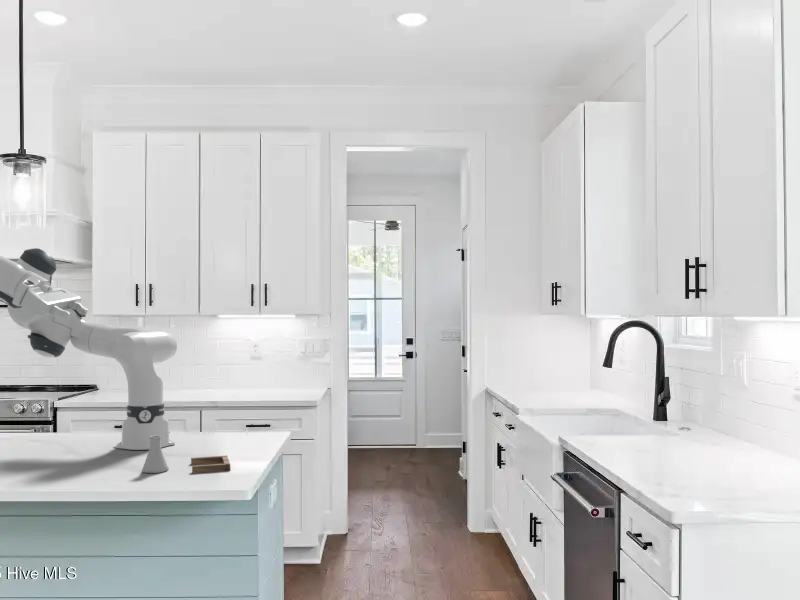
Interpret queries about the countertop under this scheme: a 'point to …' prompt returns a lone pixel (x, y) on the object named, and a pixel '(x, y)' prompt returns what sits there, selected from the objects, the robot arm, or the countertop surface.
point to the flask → (155, 457)
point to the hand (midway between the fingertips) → (77, 314)
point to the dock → (211, 467)
